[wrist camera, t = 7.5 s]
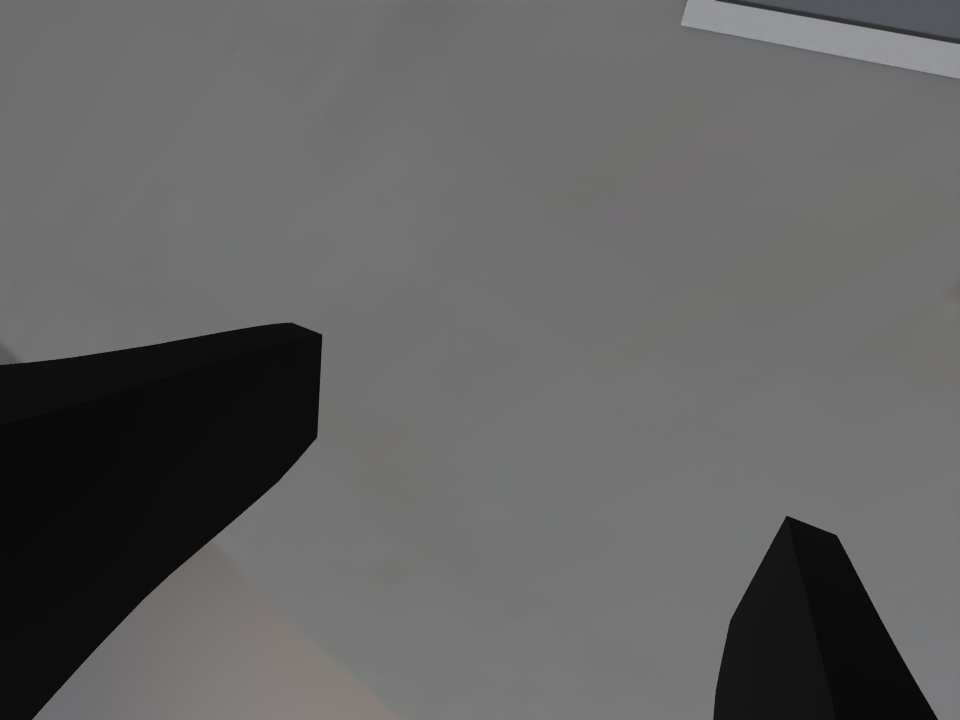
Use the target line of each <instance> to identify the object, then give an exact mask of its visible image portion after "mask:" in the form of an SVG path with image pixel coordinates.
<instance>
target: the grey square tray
mask: <svg viewBox="0 0 960 720" xmlns="http://www.w3.org/2000/svg"><path fill="white" fill-rule="evenodd" d="M681 25H683V26H688V27H693V28H699V29H704V30H709V31H714V32H719V33H725V34H730V35H735V36H740V37H745V38H751V39H756V40H761V41H766V42H771V43H777V44H782V45H787V46H792V47H797V48H803V49H808V50H813V51H818V52H823V53H829V54H834V55H839V56H844V57H849V58H855V59H860V60H865V61H870V62H875V63H880V64H886V65H891V66H896V67H901V68H906V69H912V70H917V71H922V72H927V73H932V74H938V75H943V76H948V77H953V78H958V79H960V0H688V1H687V5H686V8H685V12H684V15H683V19H682V22H681Z"/></svg>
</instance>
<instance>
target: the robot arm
mask: <svg viewBox="0 0 960 720" xmlns="http://www.w3.org/2000/svg"><path fill="white" fill-rule="evenodd" d="M321 350H322V334H319V333H317V332H314V331H312V330H309V329H306V328H304V327H301V326H299V325H296V324H294V323H280V324H270V325H263V326H256V327H250V328H244V329H238V330H232V331H227V332H221V333H216V334H210V335H205V336H199V337H194V338H188V339H183V340H178V341H172V342H167V343H161V344H156V345H150V346H144V347H137V348H131V349H124V350H118V351H111V352H105V353H98V354H92V355H86V356H79V357H73V358H65V359H57V360H48V361H39V362H30V363H19V364H9V365H0V720H32V719H33V718H34V717H35V716H36V715H37V713H38V712H39V711H40V710H41V709H42V708H43V706H44V705H45V704H46V703H47V702H48V701H49V700H50V699H51V698H52V697H53V695H54V694H55V693H56V692H57V691H58V690H59V689H60V688H61V687H62V685H63V684H64V683H65V682H66V681H67V680H68V679H69V678H70V677H71V676H72V674H73V673H74V672H75V671H76V670H77V669H78V668H79V667H80V666H81V664H82V663H83V662H84V661H85V660H86V659H87V658H88V657H89V656H90V655H91V654H92V652H93V651H94V650H95V649H96V648H97V647H98V646H99V645H100V644H101V643H102V642H103V641H104V640H105V639H106V638H107V637H108V635H110V633H112V631H113V630H114V629H115V628H116V627H117V626H118V625H119V624H120V623H121V622H122V621H123V620H124V619H125V618H126V617H127V616H128V615H129V614H130V613H131V612H132V611H133V609H135V608H136V607H137V605H138V604H139V603H140V602H141V601H142V600H143V599H144V598H145V597H146V596H148V595H149V594H150V593H151V592H152V591H153V590H154V589H155V588H156V587H157V586H158V585H159V584H160V583H162V582H163V581H164V580H165V579H166V578H167V577H168V576H169V575H170V574H171V573H173V572H174V571H175V570H176V569H177V568H178V567H180V566H181V565H182V564H183V563H184V562H185V561H186V560H188V559H189V558H190V557H191V556H193V555H194V554H195V553H196V552H197V551H198V550H200V549H201V548H202V547H203V546H204V545H205V544H207V543H208V542H209V541H210V540H211V539H212V538H214V537H215V536H216V535H217V534H218V533H220V532H221V531H222V530H223V529H224V528H225V527H227V526H228V525H229V524H230V523H231V522H232V521H234V520H235V519H236V518H237V517H238V516H239V515H241V514H242V513H243V512H244V511H245V510H246V509H248V508H249V507H250V506H251V505H252V504H253V503H254V502H256V501H257V500H258V499H259V498H260V497H261V496H262V495H264V494H265V493H266V492H267V491H268V490H269V489H270V488H271V487H273V486H274V485H275V484H276V483H277V482H278V481H279V480H280V479H281V478H282V477H283V476H284V475H285V473H286V472H287V471H288V470H289V469H290V468H291V467H292V466H293V465H294V464H295V463H296V461H297V460H298V459H299V458H300V457H301V456H302V454H303V453H304V452H305V451H306V450H307V448H308V447H309V446H310V445H311V444H312V443H313V441H314V440H315V439H316V438H317V431H318V410H319V390H320V370H321ZM713 720H938V719H937V717H936V715H935V714H934V712H933V710H932V709H931V707H930V705H929V704H928V702H927V700H926V699H925V697H924V695H923V694H922V692H921V690H920V688H919V687H918V685H917V683H916V682H915V680H914V678H913V676H912V675H911V673H910V671H909V669H908V668H907V666H906V664H905V662H904V661H903V659H902V657H901V655H900V653H899V652H898V650H897V648H896V646H895V644H894V643H893V641H892V639H891V637H890V635H889V633H888V632H887V630H886V628H885V626H884V624H883V622H882V621H881V619H880V617H879V615H878V613H877V611H876V609H875V607H874V605H873V604H872V602H871V600H870V598H869V596H868V594H867V592H866V590H865V588H864V586H863V584H862V583H861V581H860V579H859V577H858V575H857V573H856V571H855V569H854V567H853V565H852V563H851V561H850V559H849V557H848V555H847V554H846V552H845V550H844V548H843V546H842V544H841V542H840V540H839V539H838V537H837V535H835V534H832V533H829V532H827V531H824V530H822V529H819V528H817V527H814V526H812V525H809V524H806V523H804V522H801V521H799V520H796V519H794V518H791V517H788V516H786V518H785V520H784V522H783V523H782V525H781V527H780V529H779V531H778V533H777V535H776V536H775V538H774V540H773V542H772V544H771V546H770V548H769V549H768V551H767V553H766V555H765V557H764V559H763V561H762V563H761V564H760V566H759V568H758V570H757V572H756V574H755V576H754V577H753V579H752V581H751V583H750V585H749V587H748V589H747V590H746V592H745V594H744V596H743V598H742V600H741V602H740V603H739V605H738V607H737V609H736V611H735V613H734V615H733V616H732V618H731V620H730V624H729V629H728V634H727V638H726V643H725V647H724V652H723V657H722V662H721V667H720V672H719V677H718V682H717V687H716V695H715V706H714V718H713Z"/></svg>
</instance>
